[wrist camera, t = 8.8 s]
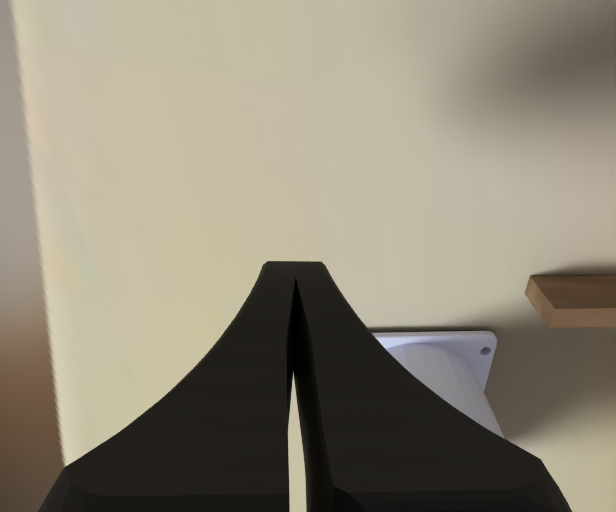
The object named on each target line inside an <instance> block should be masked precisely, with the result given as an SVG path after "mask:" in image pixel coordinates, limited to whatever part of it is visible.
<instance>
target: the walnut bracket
mask: <svg viewBox="0 0 616 512" xmlns="http://www.w3.org/2000/svg"><path fill="white" fill-rule="evenodd" d="M525 295H526V296H527V298H528V299H529V300H530V302H531V303H532V305H533V306H534V307H535V309H536V310H537V312H538V313H539V314H540V316H541V317H542V319H543V320H544V321H545V323H546V324H547V326H548V327H549V328H566V327H616V275H589V276H530V278H529V282H528V285H527V289H526V292H525Z"/></svg>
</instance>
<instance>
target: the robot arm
mask: <svg viewBox="0 0 616 512" xmlns="http://www.w3.org/2000/svg"><path fill="white" fill-rule="evenodd" d="M496 346H497V338H496V336H495V335H494V333H493V332H491V331H451V332H392V333H371V332H370V331H369V329H368V328H367V327H366V326H365V325H364V323H363V322H362V321H361V320H360V318H359V317H358V316H357V314H356V313H355V312H354V310H353V309H352V308H351V306H350V305H349V303H348V302H347V301H346V299H345V298H344V296H343V295H342V293H341V292H340V290H339V289H338V287H337V286H336V284H335V282H334V281H333V279H332V277H331V275H330V274H329V272H328V270H327V268H326V266H325V265H324V264H323V263H322V262H299V261H267V262H266V263H265V264H264V265H263V266H262V269H261V272H260V275H259V277H258V279H257V281H256V283H255V285H254V287H253V289H252V291H251V293H250V294H249V296H248V298H247V299H246V301H245V303H244V304H243V306H242V307H241V309H240V311H239V312H238V314H237V315H236V317H235V318H234V320H233V321H232V322H231V324H230V325H229V326H228V328H227V329H226V331H225V332H224V333H223V335H222V336H221V337H220V339H219V340H218V341H217V342H216V344H215V345H214V346H213V347H212V348H211V350H210V351H209V352H208V353H207V354H206V355H205V356H204V358H203V359H202V360H201V361H200V362H199V363H198V364H197V365H196V366H195V367H194V368H193V369H192V370H191V371H190V372H189V373H188V374H187V375H186V376H185V377H184V378H183V379H182V380H181V381H180V382H179V383H178V384H177V385H176V386H175V387H174V388H173V389H172V390H171V391H170V392H168V393H167V394H166V395H165V396H164V397H163V398H162V399H161V400H159V401H158V402H157V403H156V404H154V405H153V406H152V407H151V408H149V409H148V410H147V411H146V412H144V413H143V414H142V415H141V416H139V417H138V418H137V419H136V420H134V421H133V422H132V423H131V424H129V425H128V426H127V427H125V428H124V429H123V430H121V431H120V432H119V433H117V434H116V435H114V436H113V437H111V438H110V439H108V440H107V441H105V442H104V443H102V444H100V445H99V446H97V447H96V448H94V449H93V450H91V451H90V452H88V453H87V454H85V455H84V456H82V457H81V458H79V459H77V460H76V461H74V462H73V463H71V464H69V465H68V466H66V467H65V468H63V470H62V472H61V474H60V475H59V477H58V478H57V480H56V482H55V483H54V485H53V487H52V488H51V490H50V492H49V494H48V495H47V497H46V499H45V500H44V502H43V504H42V506H41V507H40V509H39V511H38V512H289V466H288V423H289V412H290V401H291V390H292V379H293V371H294V380H295V388H296V396H297V404H298V412H299V420H300V428H301V436H302V444H303V452H304V462H305V474H306V505H307V512H572V510H571V509H570V507H569V505H568V503H567V501H566V499H565V497H564V496H563V494H562V492H561V490H560V489H559V487H558V485H557V484H556V482H555V481H554V479H553V478H552V476H551V475H550V473H549V472H548V470H547V469H546V467H545V466H544V464H543V462H542V460H541V459H539V458H537V457H536V456H534V455H532V454H530V453H529V452H527V451H525V450H523V449H522V448H520V447H518V446H516V445H515V444H513V443H511V442H509V441H507V440H506V439H505V438H504V436H503V434H502V431H501V429H500V427H499V425H498V423H497V420H496V418H495V416H494V414H493V412H492V409H491V407H490V405H489V403H488V401H487V398H486V396H485V394H484V390H485V386H486V383H487V379H488V375H489V372H490V368H491V364H492V361H493V357H494V353H495V349H496ZM485 347H487V348H486V349H484V350H481V349H483V348H485Z"/></svg>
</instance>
